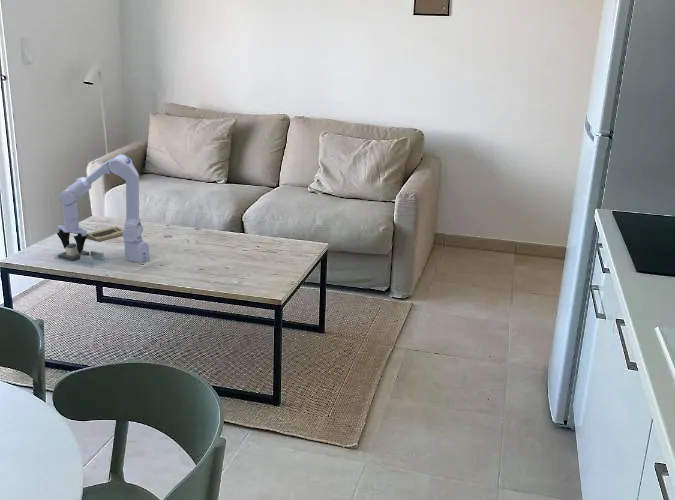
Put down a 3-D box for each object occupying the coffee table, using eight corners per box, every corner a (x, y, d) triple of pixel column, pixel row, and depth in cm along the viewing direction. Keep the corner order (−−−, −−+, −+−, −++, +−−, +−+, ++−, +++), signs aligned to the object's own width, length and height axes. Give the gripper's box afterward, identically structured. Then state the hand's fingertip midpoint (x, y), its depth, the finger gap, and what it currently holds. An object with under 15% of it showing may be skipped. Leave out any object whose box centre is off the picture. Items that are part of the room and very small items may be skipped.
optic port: (89, 255, 302) (88, 251, 301) (73, 261, 294) (72, 257, 293) (74, 251, 305) (74, 247, 304) (58, 257, 297) (58, 253, 297)
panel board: (113, 261, 299) (113, 259, 298) (91, 270, 288) (91, 267, 288) (75, 252, 307) (74, 250, 307) (53, 260, 297) (53, 258, 296)
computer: (96, 243, 321) (96, 236, 320) (86, 239, 325) (85, 232, 324) (126, 235, 333) (126, 229, 332) (115, 232, 337) (115, 225, 336)
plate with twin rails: (103, 259, 297) (103, 253, 296) (91, 264, 291) (91, 257, 290) (92, 257, 299) (92, 250, 298) (80, 262, 294) (80, 255, 293)
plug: (78, 256, 300) (77, 243, 298) (71, 259, 296) (70, 246, 295) (73, 255, 301) (72, 242, 299) (66, 257, 298) (65, 245, 296)
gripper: (50, 217, 294) (53, 249, 298) (76, 223, 288) (79, 255, 292) (63, 213, 300) (66, 244, 304) (89, 219, 294) (92, 250, 298)
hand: (73, 249), depth 298 cm, fingers open, 7 cm apart
